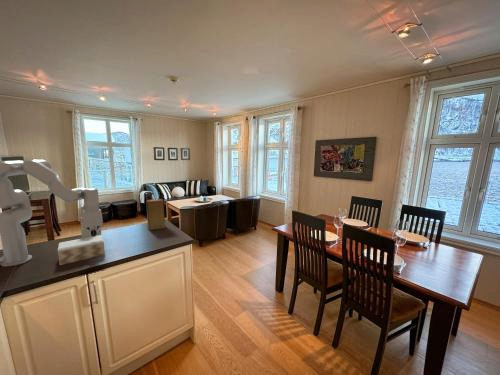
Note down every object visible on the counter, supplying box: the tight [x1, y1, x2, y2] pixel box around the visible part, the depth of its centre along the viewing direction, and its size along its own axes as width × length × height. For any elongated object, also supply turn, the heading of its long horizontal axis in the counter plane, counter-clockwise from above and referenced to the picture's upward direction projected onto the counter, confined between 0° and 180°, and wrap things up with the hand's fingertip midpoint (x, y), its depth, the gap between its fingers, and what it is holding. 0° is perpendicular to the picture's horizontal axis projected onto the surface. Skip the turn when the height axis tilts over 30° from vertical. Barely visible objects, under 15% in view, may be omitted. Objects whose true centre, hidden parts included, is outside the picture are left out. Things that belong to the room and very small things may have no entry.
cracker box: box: [79, 217, 102, 239], centre depth 154 cm, size 14×6×21 cm, turn 8°
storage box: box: [57, 242, 106, 266], centre depth 137 cm, size 22×14×8 cm, turn 129°
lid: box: [57, 234, 105, 253], centre depth 136 cm, size 22×14×1 cm, turn 129°
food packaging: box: [146, 198, 166, 231], centre depth 188 cm, size 13×9×25 cm
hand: (93, 236), depth 137 cm, fingers closed
